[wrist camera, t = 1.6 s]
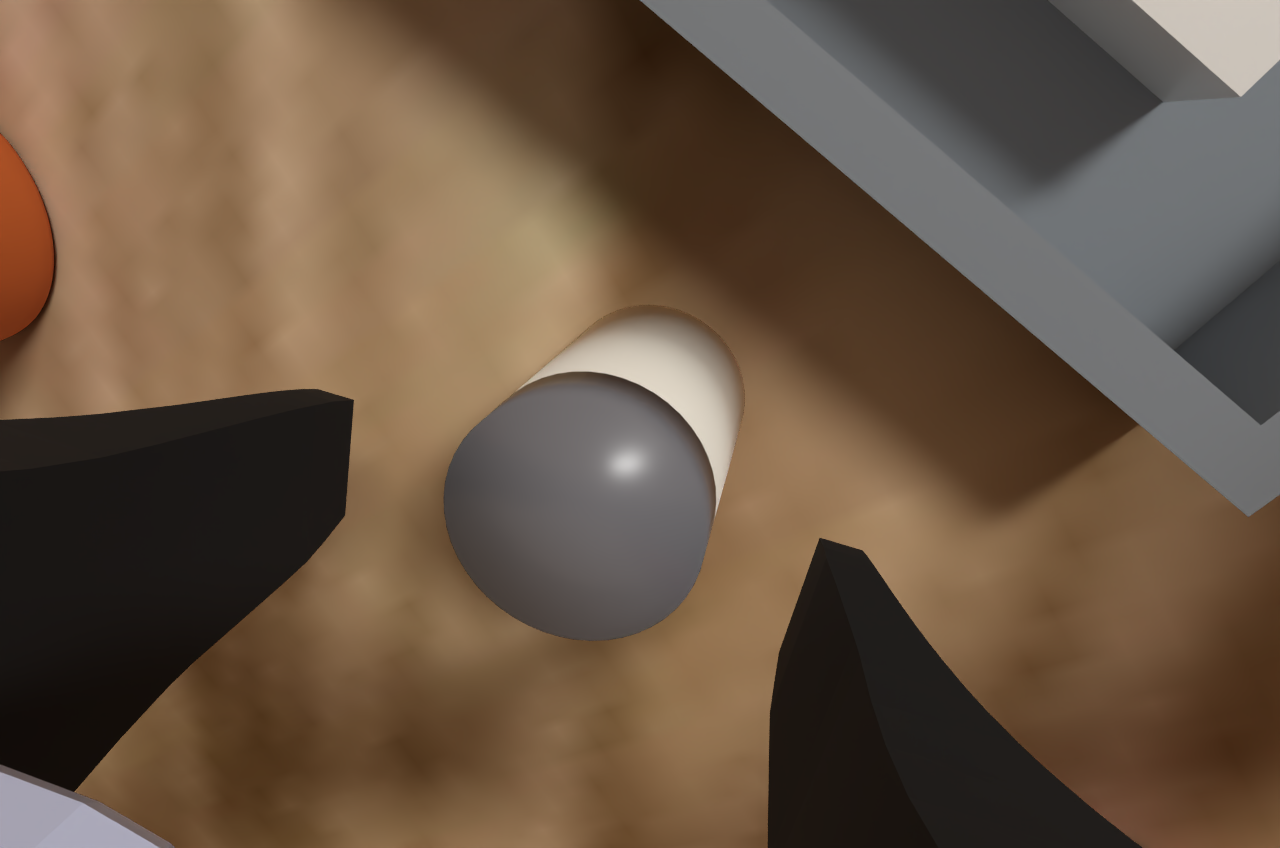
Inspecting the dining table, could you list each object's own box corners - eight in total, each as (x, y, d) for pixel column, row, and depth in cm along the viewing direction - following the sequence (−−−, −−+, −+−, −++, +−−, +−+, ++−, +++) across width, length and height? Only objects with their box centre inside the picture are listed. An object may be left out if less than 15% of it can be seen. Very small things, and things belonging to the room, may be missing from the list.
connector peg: (784, 388, 16) (764, 522, 11) (667, 513, 18) (598, 685, 12) (635, 265, 16) (537, 338, 11) (529, 403, 18) (398, 528, 12)
